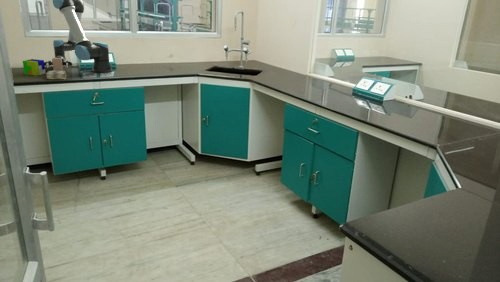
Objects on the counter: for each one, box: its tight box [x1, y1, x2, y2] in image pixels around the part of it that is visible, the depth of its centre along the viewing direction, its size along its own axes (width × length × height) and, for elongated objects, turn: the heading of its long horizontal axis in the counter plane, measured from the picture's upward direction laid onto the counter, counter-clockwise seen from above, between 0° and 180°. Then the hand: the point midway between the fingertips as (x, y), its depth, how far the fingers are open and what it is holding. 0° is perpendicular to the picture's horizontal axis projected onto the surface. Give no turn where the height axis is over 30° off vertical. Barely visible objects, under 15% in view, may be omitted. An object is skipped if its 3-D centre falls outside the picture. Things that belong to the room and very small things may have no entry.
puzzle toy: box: [22, 58, 46, 76], centre depth 286 cm, size 10×10×10 cm
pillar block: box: [51, 57, 64, 71], centre depth 290 cm, size 6×6×12 cm
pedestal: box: [45, 70, 67, 80], centre depth 278 cm, size 12×12×5 cm
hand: (57, 65), depth 288 cm, fingers open, 13 cm apart
